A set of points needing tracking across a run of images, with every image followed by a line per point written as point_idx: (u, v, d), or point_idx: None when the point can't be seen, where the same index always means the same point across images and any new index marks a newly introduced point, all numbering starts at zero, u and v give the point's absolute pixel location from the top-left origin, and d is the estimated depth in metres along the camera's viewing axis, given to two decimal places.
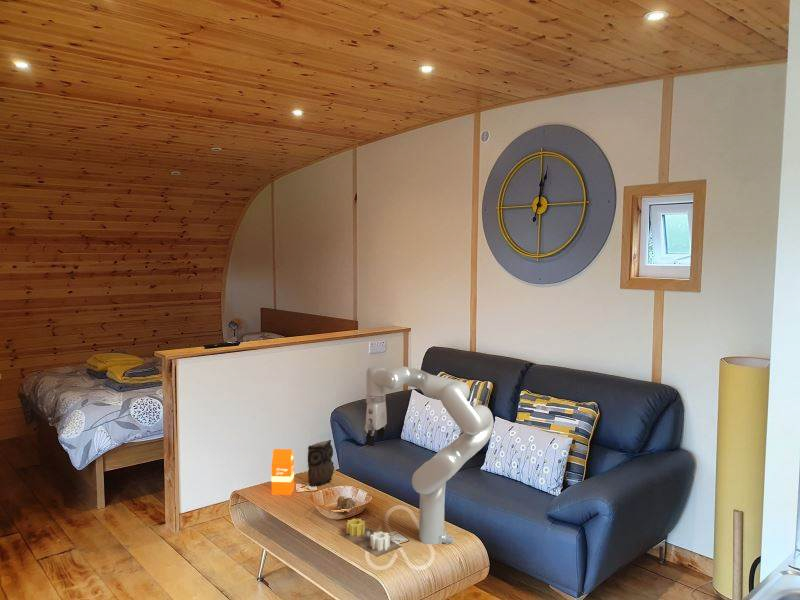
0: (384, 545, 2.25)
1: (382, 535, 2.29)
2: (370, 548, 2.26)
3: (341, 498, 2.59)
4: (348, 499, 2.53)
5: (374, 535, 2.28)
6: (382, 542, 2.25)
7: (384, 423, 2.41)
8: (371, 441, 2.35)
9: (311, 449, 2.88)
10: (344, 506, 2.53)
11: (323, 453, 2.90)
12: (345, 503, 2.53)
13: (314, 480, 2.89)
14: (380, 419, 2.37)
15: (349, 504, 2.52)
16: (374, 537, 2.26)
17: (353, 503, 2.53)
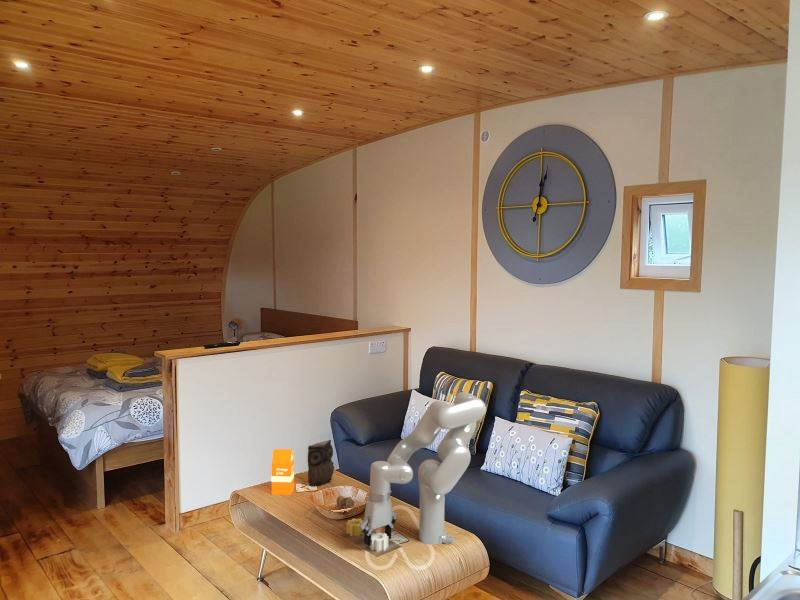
0: (383, 546, 2.24)
1: (380, 536, 2.28)
2: None
3: (340, 497, 2.60)
4: (347, 498, 2.54)
5: (372, 536, 2.27)
6: (381, 543, 2.24)
7: None
8: None
9: (311, 449, 2.88)
10: (343, 505, 2.54)
11: (323, 453, 2.90)
12: (344, 502, 2.53)
13: (314, 480, 2.89)
14: None
15: (348, 503, 2.53)
16: (373, 538, 2.25)
17: (352, 502, 2.54)
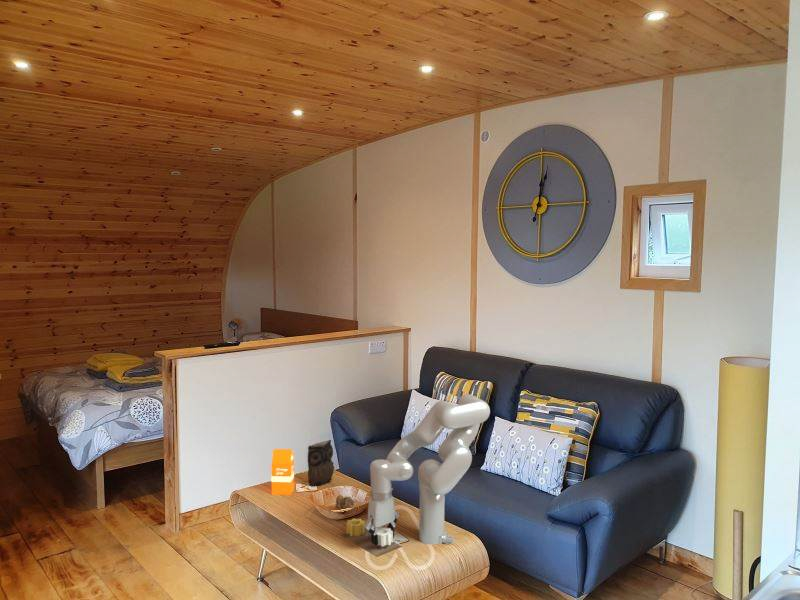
0: (387, 540, 2.25)
1: (385, 531, 2.29)
2: (370, 548, 2.26)
3: (340, 497, 2.60)
4: (347, 498, 2.54)
5: (377, 531, 2.27)
6: (385, 538, 2.25)
7: None
8: None
9: (311, 449, 2.88)
10: (343, 505, 2.54)
11: (323, 453, 2.90)
12: (344, 502, 2.54)
13: (314, 480, 2.89)
14: None
15: (348, 503, 2.53)
16: (377, 533, 2.26)
17: (352, 502, 2.54)
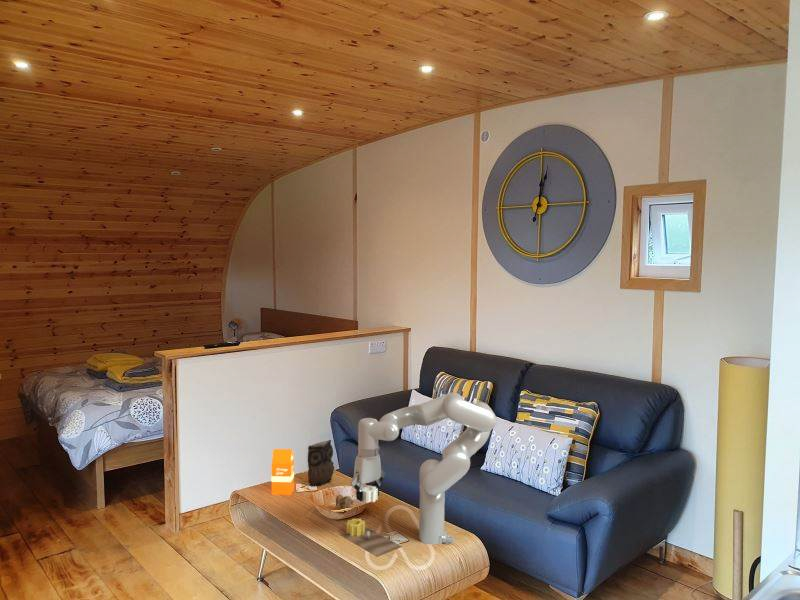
0: (372, 497, 2.29)
1: (370, 488, 2.33)
2: (370, 548, 2.26)
3: (339, 497, 2.61)
4: (346, 498, 2.55)
5: (362, 488, 2.32)
6: (370, 494, 2.29)
7: None
8: None
9: (311, 449, 2.88)
10: (342, 504, 2.54)
11: (323, 453, 2.90)
12: (343, 501, 2.54)
13: (314, 480, 2.89)
14: None
15: (347, 502, 2.54)
16: (362, 490, 2.30)
17: (351, 501, 2.55)
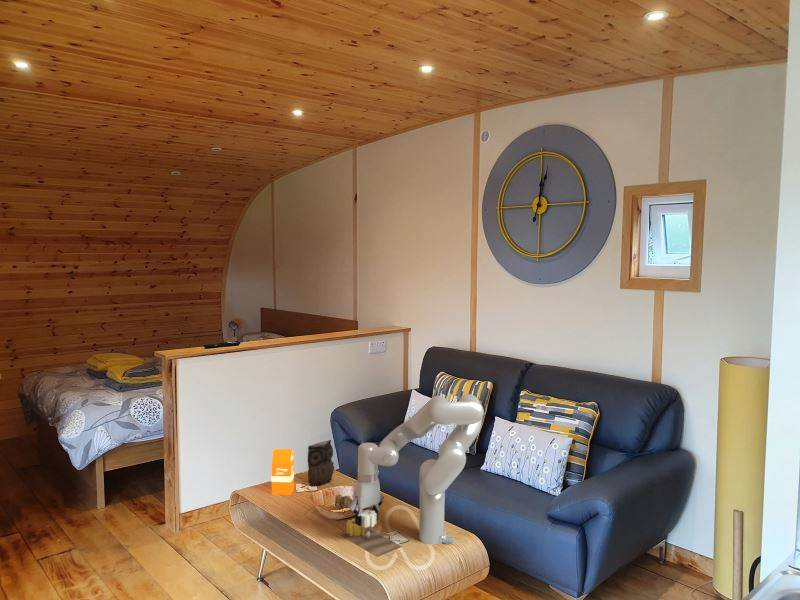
0: (371, 522, 2.30)
1: (369, 513, 2.34)
2: (370, 548, 2.26)
3: (339, 496, 2.61)
4: (346, 497, 2.55)
5: None
6: (369, 519, 2.30)
7: None
8: None
9: (311, 449, 2.88)
10: (342, 504, 2.55)
11: (323, 453, 2.90)
12: (343, 501, 2.55)
13: (314, 480, 2.89)
14: None
15: (347, 502, 2.54)
16: (361, 514, 2.31)
17: (351, 501, 2.55)
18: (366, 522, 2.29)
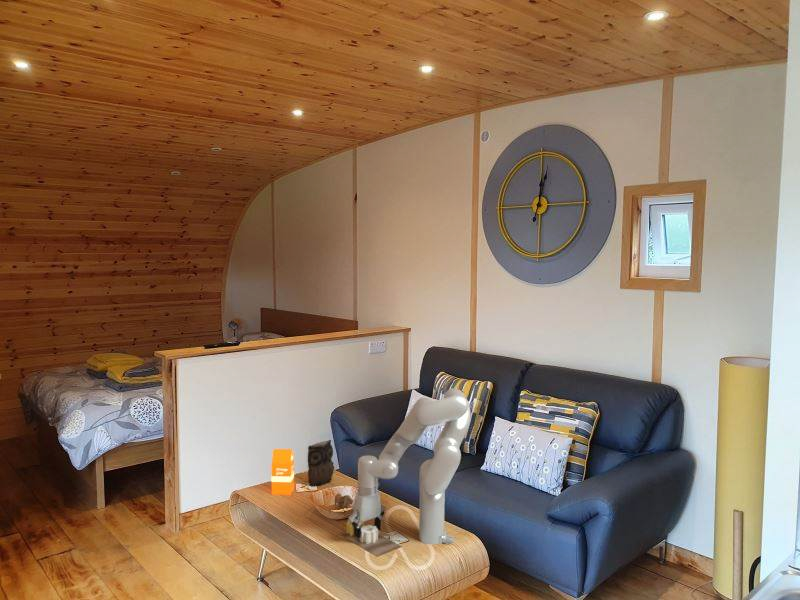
0: (372, 538, 2.30)
1: (370, 528, 2.34)
2: (370, 548, 2.26)
3: (338, 496, 2.62)
4: (345, 497, 2.55)
5: (362, 528, 2.33)
6: (370, 535, 2.30)
7: None
8: None
9: (311, 449, 2.88)
10: (341, 504, 2.55)
11: (323, 453, 2.90)
12: (342, 501, 2.55)
13: (314, 480, 2.89)
14: None
15: (346, 502, 2.54)
16: (362, 530, 2.31)
17: (350, 501, 2.56)
18: (367, 538, 2.30)
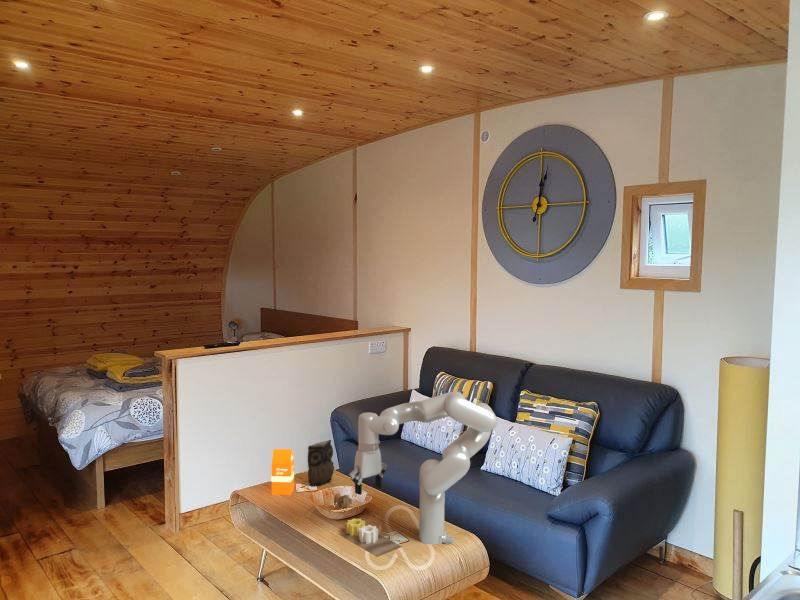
0: (372, 538, 2.30)
1: (370, 528, 2.34)
2: (370, 548, 2.26)
3: (338, 495, 2.62)
4: (345, 496, 2.56)
5: (362, 528, 2.33)
6: (370, 535, 2.30)
7: None
8: None
9: (311, 449, 2.88)
10: (341, 503, 2.56)
11: (323, 453, 2.90)
12: (342, 500, 2.56)
13: (314, 480, 2.89)
14: None
15: (346, 501, 2.55)
16: (362, 530, 2.31)
17: (350, 500, 2.56)
18: (367, 538, 2.30)
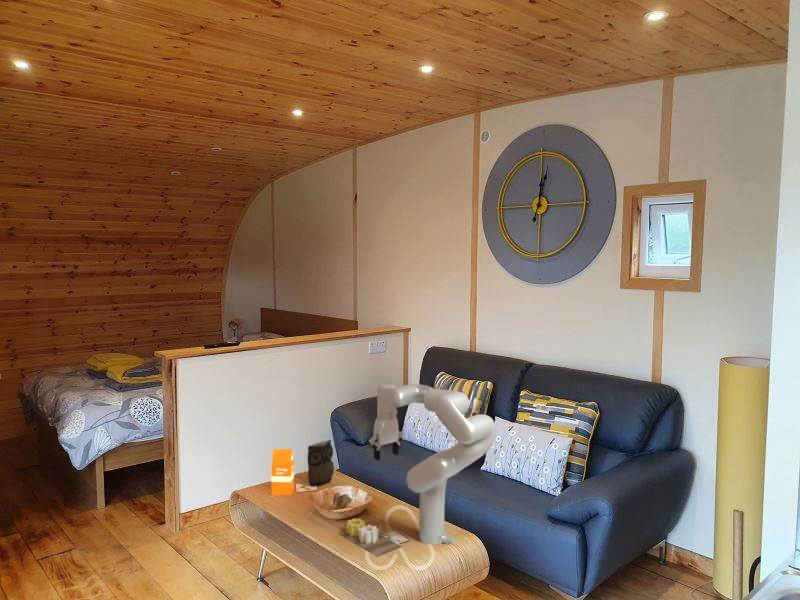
0: (372, 538, 2.30)
1: (370, 528, 2.34)
2: (370, 548, 2.26)
3: (337, 495, 2.63)
4: (344, 496, 2.56)
5: (362, 528, 2.33)
6: (370, 535, 2.30)
7: None
8: None
9: (311, 449, 2.88)
10: (340, 503, 2.56)
11: (323, 453, 2.90)
12: (341, 500, 2.56)
13: (314, 480, 2.89)
14: None
15: (345, 501, 2.56)
16: (362, 530, 2.31)
17: (349, 500, 2.57)
18: (367, 538, 2.30)
